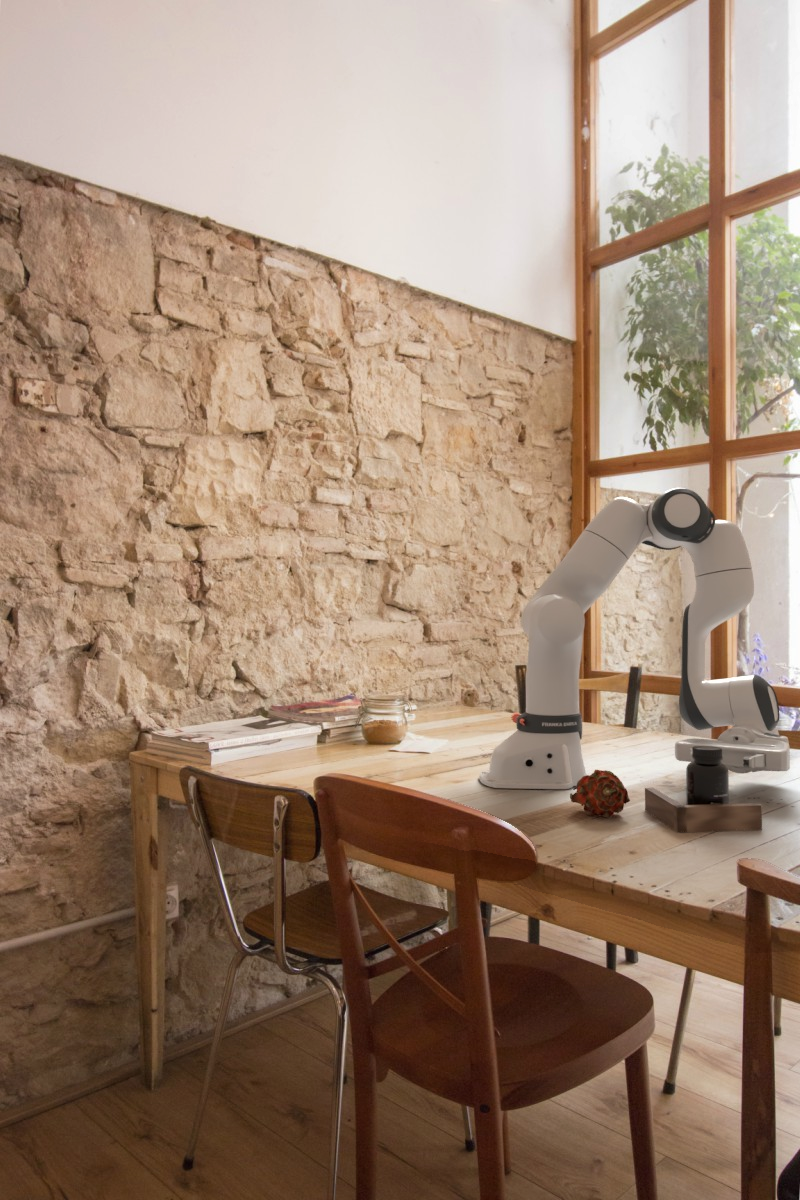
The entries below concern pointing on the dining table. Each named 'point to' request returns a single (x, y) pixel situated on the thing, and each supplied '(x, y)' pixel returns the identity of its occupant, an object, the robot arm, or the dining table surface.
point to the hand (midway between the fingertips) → (720, 760)
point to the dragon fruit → (600, 794)
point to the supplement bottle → (707, 777)
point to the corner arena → (703, 814)
